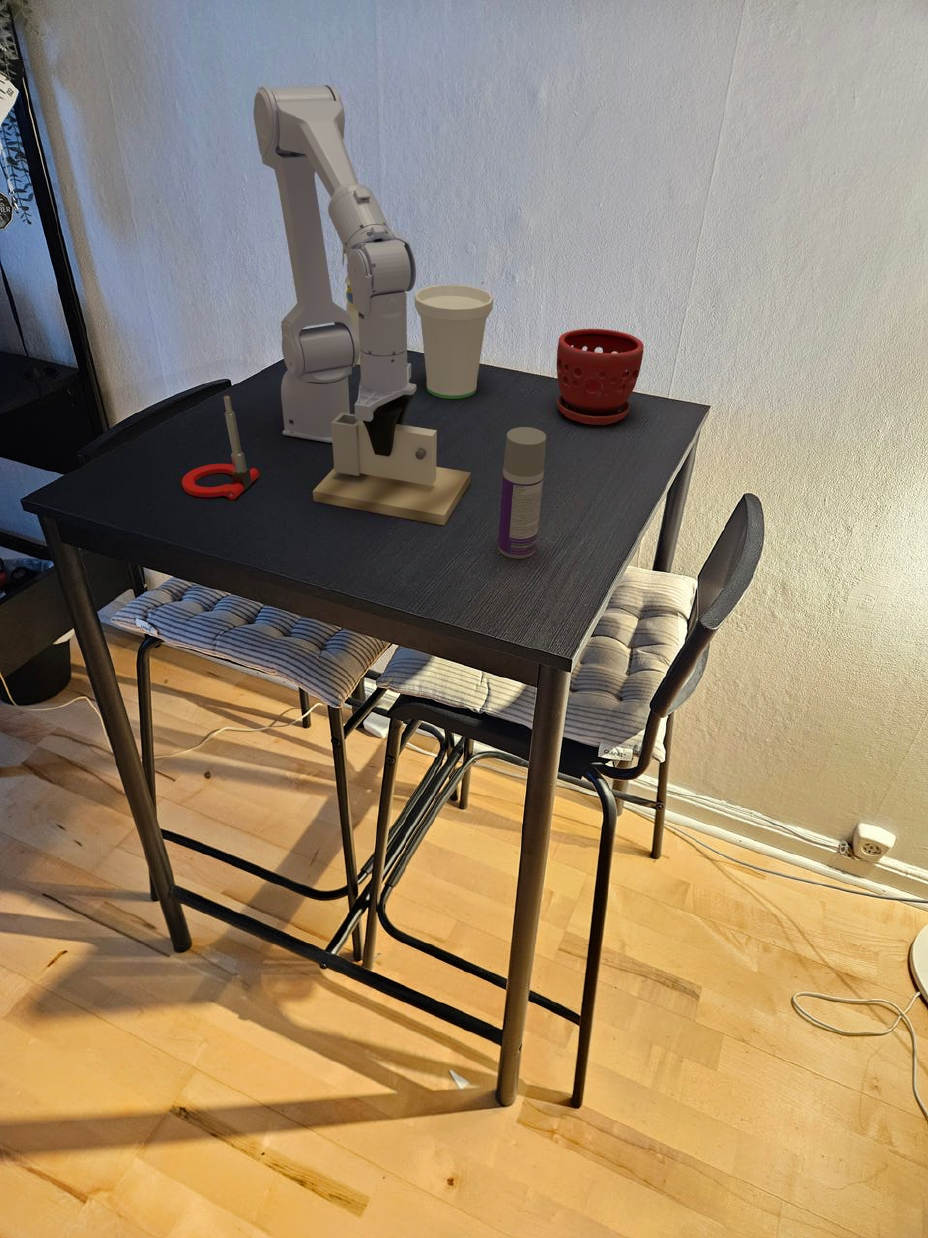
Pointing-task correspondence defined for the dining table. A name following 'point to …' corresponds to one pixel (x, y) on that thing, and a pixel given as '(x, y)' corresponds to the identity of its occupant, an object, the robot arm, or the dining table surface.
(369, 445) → the door
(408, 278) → the robot arm
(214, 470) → the tow hook
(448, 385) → the cup
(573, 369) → the plant pot
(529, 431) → the container
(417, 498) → the base board
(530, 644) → the dining table surface
